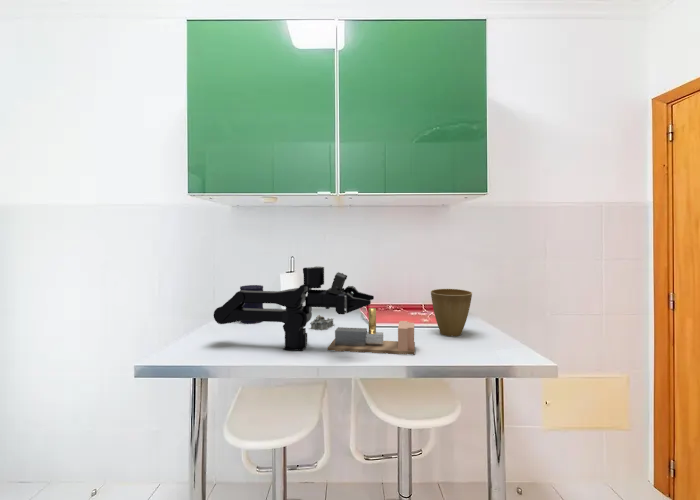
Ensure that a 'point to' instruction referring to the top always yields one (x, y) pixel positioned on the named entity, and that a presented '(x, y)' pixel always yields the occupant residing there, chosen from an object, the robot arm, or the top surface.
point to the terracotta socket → (405, 336)
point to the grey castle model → (321, 323)
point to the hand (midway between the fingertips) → (372, 299)
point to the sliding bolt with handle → (373, 329)
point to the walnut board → (372, 348)
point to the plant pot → (451, 310)
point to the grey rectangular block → (350, 336)
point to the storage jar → (252, 305)
